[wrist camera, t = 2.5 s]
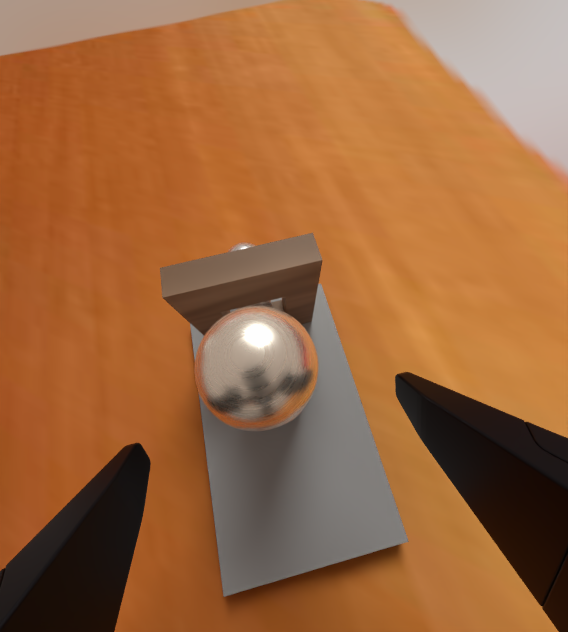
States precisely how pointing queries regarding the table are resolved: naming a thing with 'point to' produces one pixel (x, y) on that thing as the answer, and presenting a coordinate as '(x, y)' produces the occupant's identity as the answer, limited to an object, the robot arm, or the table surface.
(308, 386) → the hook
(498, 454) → the robot arm
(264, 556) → the base board
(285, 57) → the table surface
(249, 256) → the block
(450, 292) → the table surface
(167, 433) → the table surface
